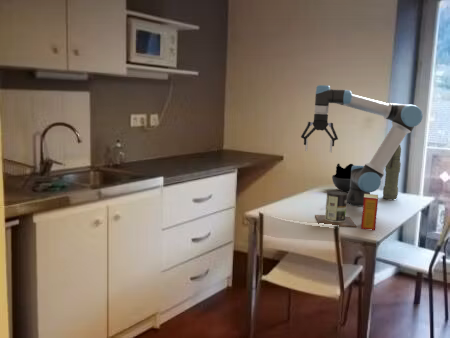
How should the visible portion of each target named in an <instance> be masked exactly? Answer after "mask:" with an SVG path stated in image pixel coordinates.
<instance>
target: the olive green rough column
mask: <svg viewBox="0 0 450 338" xmlns="http://www.w3.org/2000/svg"><path fill="white" fill-rule="evenodd" d="M401 153H402V147H401V144H400V145H399V146H398V148H397V150H396V151H395V153H394V154H393V156H392V157H391V159H390V161H389V162H388V164H387V165H386V167H385V168H384V170H385V178H384V186H383V188H382V189H383V191H382V198H383V199H384V198H386V199H385V200H388V199H396V198H397V199H398V196H399V195H398V194H399V187H398V185H399V176H400V172H401V166H402V165H401V156H402V155H401Z"/></svg>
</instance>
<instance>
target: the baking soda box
mask: <svg viewBox="0 0 450 338" xmlns="http://www.w3.org/2000/svg"><path fill="white" fill-rule="evenodd" d="M378 204H379V195H378V194H371V193H370V194H364V201H363V206H362V215H361V225H360V230H366V229H372V230H371V231H376V226H377V225H376V224H377V215H378V214H377V212H378Z"/></svg>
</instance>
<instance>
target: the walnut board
mask: <svg viewBox="0 0 450 338" xmlns="http://www.w3.org/2000/svg"><path fill="white" fill-rule="evenodd" d="M314 216H315V219H316V221H317V223H318V224H319V223H324V224H332V225H339V226H338V227H342V228H343V227H345V228H357V227H358V226H357V224H356V223H355V222H354V220H353V219H352V218H351V216H346V217H345V222H330V221H327V220H325V214H314Z"/></svg>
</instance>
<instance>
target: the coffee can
mask: <svg viewBox="0 0 450 338" xmlns="http://www.w3.org/2000/svg"><path fill="white" fill-rule="evenodd" d="M347 195H348V192H344V191H341V190H339V191H338V190H329V191H328V190H327V191H326V198H325V199H326V200H325V201H326V202H325V214H324V215H325V220H327V221H330V222H345V217H346V215H347V214H346V213H347Z"/></svg>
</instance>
